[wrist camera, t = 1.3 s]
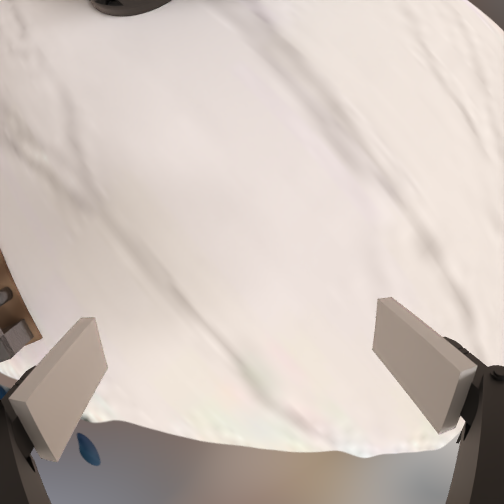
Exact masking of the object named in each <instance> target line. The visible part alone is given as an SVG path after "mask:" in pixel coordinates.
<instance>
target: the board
mask: <svg viewBox="0 0 504 504" xmlns="http://www.w3.org/2000/svg"><path fill="white" fill-rule="evenodd" d="M4 287H9V288H10V289H11V290H12V292H13V298H12V299H11V300H10V301H8V302H6V303H5V304H3V305H2V306H0V328H1V330H2V329H4V328H6V327H8V326H10V325H12V324H14V323H16V322H18V321H20V320H22V319H25V321H26V323H27V325H28V327H29V328H30V330H31V332H32V334H33V336H34V337H33V338H32V339H31V340H30V341H29V342H28V343H27V344H26V345H28V344H30V343H33V342H35V341H38V340H40V339H42V338H43V337H42V336H41V334H40V332H39V330H38V328H37V327H36V325H35V323H34V321H33V319H32V317H31V315H30V313H29V312H28V310H27V308H26V306H25V304H24V302H23V300H22V298H21V295H20V293H19V291H18V289H17V287H16V285H15V283H14V280H13V278H12V276H11V274H10V271H9V269H8V267H7V264H6V262H5V260H4V257H3V255H2V252H1V250H0V290H1V289H2V288H4ZM26 345H25V346H26Z"/></svg>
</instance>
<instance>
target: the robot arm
mask: <svg viewBox="0 0 504 504" xmlns="http://www.w3.org/2000/svg"><path fill="white" fill-rule="evenodd" d="M90 1H91V3H92V4H93V5H94V6H95V7H96V8H97V9H98V10H99V11H101V12H103V13H106V14H109V15H115V16H128V15H135V14H140V13H144V12H147V11H150V10H153V9H155V8H158V7H160V6H162V5H164V4H166V3H167V2H169V1H171V0H90ZM372 350H373V351H374V352H375V354H376V355H377V356H378V357H379V359H380V360H381V361H382V362H383V364H384V365H385V366H386V367H387V369H388V370H389V371H390V372H391V374H392V375H393V376H394V377H395V379H396V380H397V381H398V382H399V384H400V385H401V386H402V388H403V389H404V390H405V391H406V393H407V394H408V395H409V396H410V398H411V399H412V400H413V402H414V403H415V404H416V405H417V407H418V408H419V409H420V411H421V412H422V413H423V414H424V416H425V417H426V418H427V420H428V421H429V422H430V423H431V425H432V426H433V427H434V429H435V430H436V431H437V433H438V434H442V433H444V432H447V431H449V430H452V429H454V428H455V427H456V425H457V423H458V420H459V418H460V416H461V417H462V418H463V419H464V420H465V421H466V422H465V424H464V426H463V429H462V431H461V433H460V436H459V438H458V440H457V442H456V443H459V442H460V446H459V451H458V456H457V461H456V466H455V470H454V474H453V478H452V482H451V486H450V490H449V494H448V497H447V501H446V504H504V367H503V366H499V365H493V366H489V367H487V366H486V365H485V364H483V363H482V362H481V361H480V360H479V359H477V358H476V357H475V356H474V355H472V354H471V353H469V351H467V350H466V349H465V348H463V347H462V346H461V345H460V344H459V343H457V342H456V341H454V340H452V339H449V338H447V337H442V336H441V335H439V334H438V333H437V332H436V331H434V330H433V329H432V328H431V327H429V326H428V325H427V324H426V323H424V322H423V321H422V320H421V319H419V318H418V317H417V316H415V315H414V314H413V313H412V312H410V311H409V310H408V309H406V308H405V307H404V306H403V305H401V304H400V303H399V302H397V301H396V300H395V299H394V298H392V297H388V298H381V299H378V301H377V313H376V323H375V332H374V340H373V348H372ZM107 369H108V366H107V362H106V359H105V355H104V352H103V348H102V344H101V340H100V336H99V332H98V328H97V323H96V319H95V318H80V319H79V320H78V321H77V323H76V324H75V325H74V326H73V327H72V328H71V329H70V330H69V331H68V332H67V333H66V334H65V335H64V336H63V337H62V338H61V340H60V341H59V342H58V343H57V344H56V345H55V346H54V347H53V348H52V349H51V350H50V351H49V353H48V354H47V355H46V356H45V357H44V358H43V359H42V360H41V361H40V363H39V364H38V365H37V366H34V367H32V368H31V369H29V370H27V371H26V372H25V373H24V374H23V375H22V377H21V378H20V380H18V381H17V382H16V383H15V385H14V386H13V387H12V388H11V389H10V390H9V391H8V393H7V394H6V395H5V396H4V397H3V398H2V400H0V504H51V502H50V500H49V498H48V495H47V493H46V490H45V488H44V485H43V483H42V480H41V478H40V475H39V473H38V470H37V467H36V464H35V461H34V459H33V458H32V456H31V454H30V453H31V451H32V450H33V448H35V449H36V451H37V453H38V454H39V456H40V457H41V458H42V459H46V460H50V461H54V462H58V461H59V459H60V457H61V455H62V452H63V451H64V449H65V446H66V445H67V443H68V441H69V439H70V437H71V435H72V433H73V431H74V429H75V427H76V425H77V423H78V422H79V420H80V418H81V416H82V414H83V412H84V410H85V408H86V407H87V405H88V403H89V401H90V399H91V397H92V396H93V394H94V392H95V390H96V388H97V387H98V385H99V383H100V381H101V379H102V378H103V376H104V374H105V372H106V371H107Z"/></svg>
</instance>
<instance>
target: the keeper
mask: <svg viewBox="0 0 504 504" xmlns="http://www.w3.org/2000/svg"><path fill="white" fill-rule="evenodd" d="M12 298H13V292H12V290H11V289H10V288H9V287H4V288H2V289H1V290H0V306H2V305H3V304H5V303H6V302H8V301H10V300H11V299H12ZM33 337H34V336H33V334H32V332H31V330H30V328H29V327H28V325H27V323H26V321H25V319H22V320H20V321H18V322H16V323H14V324H12V325H10V326H8V327H6V328H4V329H2V330H1V328H0V362H3V361H5V360H8V359H11V358H12V357H13V356H14V355H15V354H16V353H17V352H18V351H19V350H20V349H21V348H23V347H24V346H25V345H26V344H27V343H28V342H29V341H30V340H31V339H32V338H33Z"/></svg>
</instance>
